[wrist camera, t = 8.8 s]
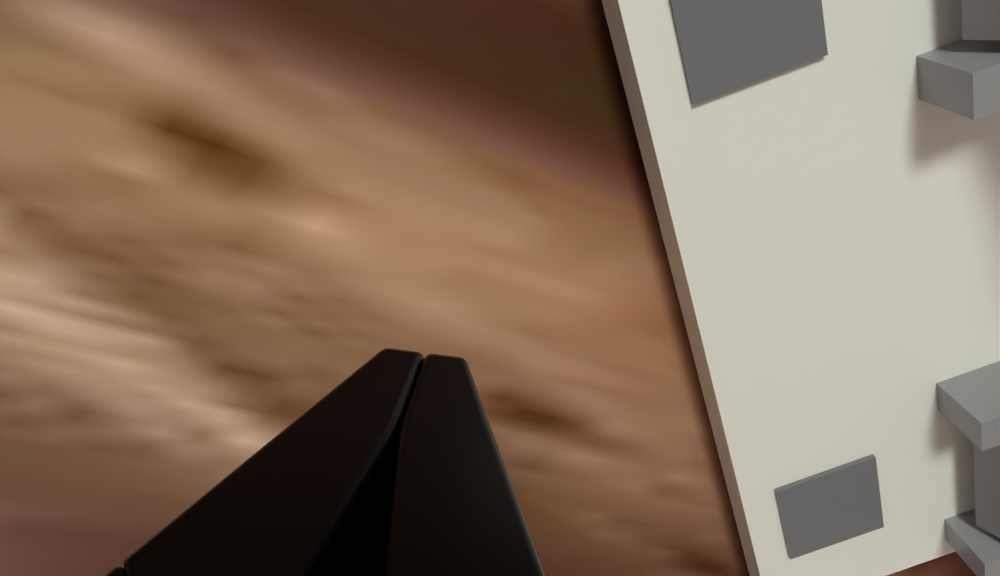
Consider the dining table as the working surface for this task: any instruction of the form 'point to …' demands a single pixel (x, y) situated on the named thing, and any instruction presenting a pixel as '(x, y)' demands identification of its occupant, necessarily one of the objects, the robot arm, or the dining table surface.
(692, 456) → the dining table surface
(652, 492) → the dining table surface
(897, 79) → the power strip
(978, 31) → the lever
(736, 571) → the dining table surface
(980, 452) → the lever
